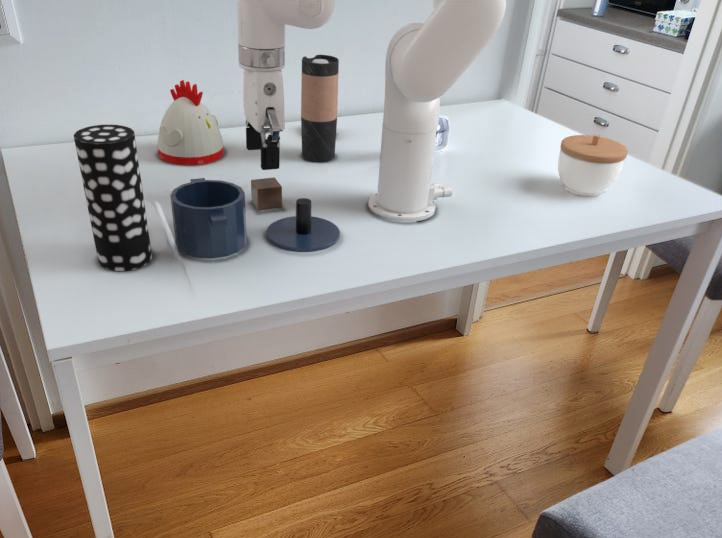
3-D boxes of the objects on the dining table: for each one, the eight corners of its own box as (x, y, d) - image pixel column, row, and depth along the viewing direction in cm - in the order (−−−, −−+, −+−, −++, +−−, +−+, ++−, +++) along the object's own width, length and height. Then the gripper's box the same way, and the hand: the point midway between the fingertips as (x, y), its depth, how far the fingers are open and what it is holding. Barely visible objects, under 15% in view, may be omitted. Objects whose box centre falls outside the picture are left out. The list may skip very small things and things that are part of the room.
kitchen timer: (194, 170, 139) (187, 94, 130) (145, 155, 144) (135, 82, 135) (236, 151, 149) (232, 79, 140) (188, 138, 154) (182, 68, 145)
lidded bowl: (560, 173, 145) (573, 121, 138) (620, 186, 140) (637, 133, 133) (543, 192, 136) (555, 137, 129) (606, 207, 131) (623, 151, 125)
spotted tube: (156, 246, 112) (139, 125, 100) (146, 271, 105) (127, 144, 93) (105, 245, 112) (82, 123, 99) (92, 270, 105) (66, 143, 93)
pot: (233, 219, 121) (230, 170, 116) (258, 263, 109) (256, 211, 103) (168, 227, 118) (162, 177, 112) (187, 273, 105) (181, 220, 100)
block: (275, 200, 128) (274, 177, 126) (282, 210, 125) (282, 186, 122) (251, 203, 127) (250, 179, 124) (258, 213, 124) (257, 189, 121)
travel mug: (331, 164, 144) (335, 65, 132) (297, 160, 145) (297, 61, 133) (338, 152, 150) (342, 56, 138) (305, 148, 151) (306, 53, 139)
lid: (325, 218, 123) (326, 183, 119) (350, 249, 114) (352, 212, 110) (258, 226, 119) (257, 190, 115) (279, 259, 110) (278, 221, 106)
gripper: (300, 69, 105) (297, 175, 115) (268, 43, 118) (269, 141, 128) (253, 71, 103) (254, 179, 113) (226, 44, 115) (230, 143, 126)
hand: (262, 158), depth 121 cm, fingers open, 9 cm apart
